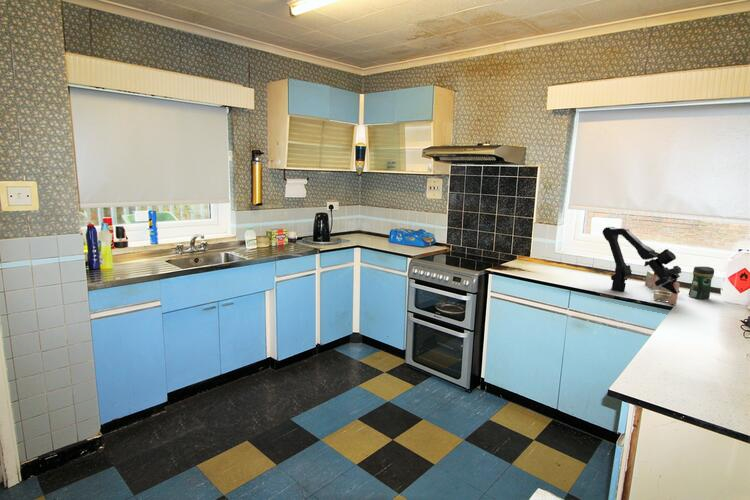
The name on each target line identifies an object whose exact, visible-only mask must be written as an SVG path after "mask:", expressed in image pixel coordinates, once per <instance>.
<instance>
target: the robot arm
mask: <svg viewBox="0 0 750 500" xmlns="http://www.w3.org/2000/svg"><path fill="white" fill-rule="evenodd" d="M602 235H603V237H604V239H605V240H606V241H607V242H608V244H609V247H610V251H611V253H612V257H613V260H614V262H615V268H614V271H615V272H614V274H613V275H611V276H610V279H611V281H612V284H611V289H610V291H615V292H616V291H617V292H621V291H622V293H624V291H625V290H626V281H627V280H628V279H630V277H631V276H632V272H633V271H632V269H631V265H627V264H626V262H625V259H624V256H623V253H622V250H621V246H620V243H619V236H622V237H623V238H624V239H625V240H626V241H627V242H628V243H629V244H631V246H633V248H634V249H635V250H636V252H637V255H638V256H639V257H640V258H641V259H642V260H645V261H644V265H643V266H644V267H648V266H649V268H650V269H651V270H652V271H654V275H657V277H658V278H659V280H657V281H655V285H656V286H660V285H661V284H663V285H662V286H661V287H664V288H665V289H667V290H669V291H671V292H673V293H674V294H677V291H676V289H675V288H674V286H673V283H674V282H678V280H679V278H680V277H681V276H680V275H679V274H682V268H681V267H680V266H679V265H674V266H673V267H672V268H668V267H665V266H664V265H668V264H669V263H671V262H673V261H674V260H676V259H677V256H676V255H675V253H673V252H672V251H671V250H669V249H668V248H666V249H664V250H663V251H662V252H661V251H660V252H656V251H655V250H654V249H653V248H652V247H650V246H648V245H646V244H644V243H643V242H642V241H641V240H640V239H639V238H638V237H637V236H635V234H634V233H632V231H630V229H629V228H627V227H624V228H622V227H621V228H617V227H615V226H607V227H604V228H603V229H602ZM680 292H681V291H680V290H679V291H678V294H679V293H680Z"/></svg>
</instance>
